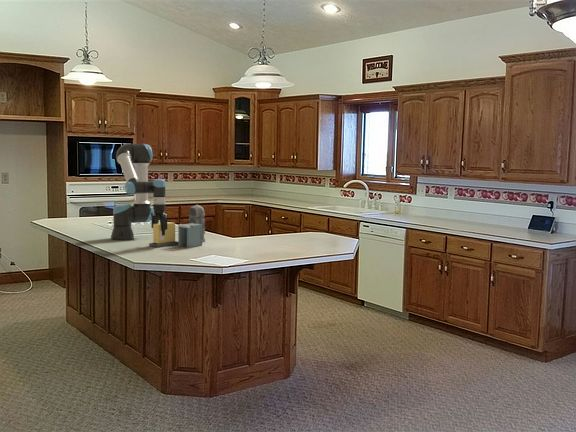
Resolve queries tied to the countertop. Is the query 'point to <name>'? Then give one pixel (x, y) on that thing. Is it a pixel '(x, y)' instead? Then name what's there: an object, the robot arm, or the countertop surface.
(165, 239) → the yellow tall slab
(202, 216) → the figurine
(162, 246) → the tray
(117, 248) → the countertop surface
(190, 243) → the dispenser
